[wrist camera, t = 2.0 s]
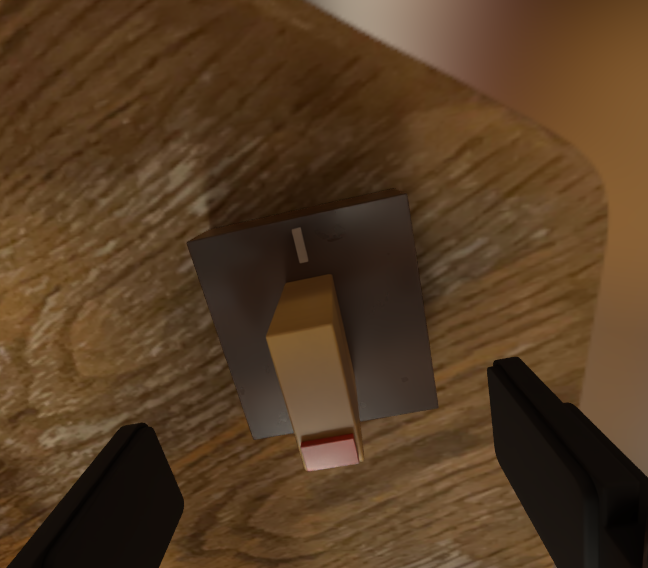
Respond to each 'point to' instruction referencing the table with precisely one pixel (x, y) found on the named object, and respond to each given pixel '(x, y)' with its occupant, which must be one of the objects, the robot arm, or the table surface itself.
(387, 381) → the plate
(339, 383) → the thumbturn
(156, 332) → the table surface
